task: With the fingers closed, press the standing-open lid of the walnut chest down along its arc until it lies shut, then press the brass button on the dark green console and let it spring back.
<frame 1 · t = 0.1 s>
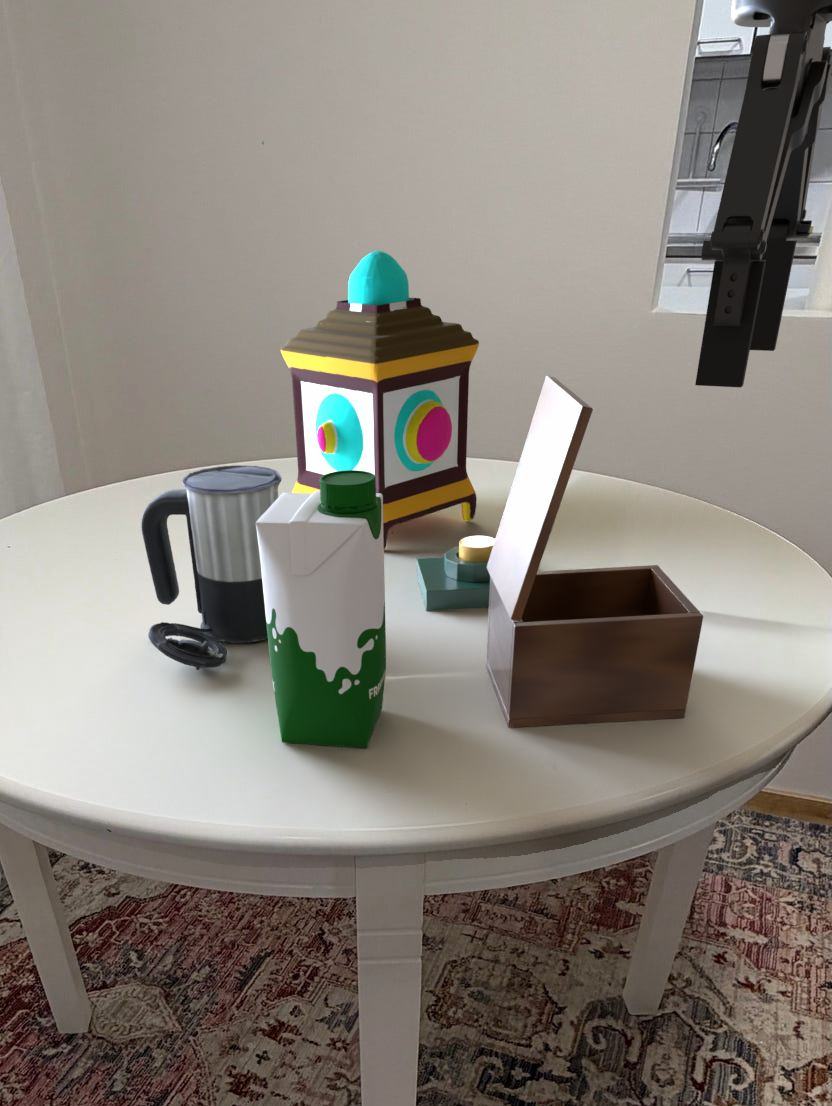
hand: (737, 366, 63), 26 cm above the table, tool pointing down, fingers open, 13 cm apart
decorative lantern: (382, 524, 124), on the table
milk carton: (332, 727, 80), on the table
chest: (579, 691, 83), on the table
chest lid: (533, 498, 73), point 17 cm above the table, hinge at 75.0°
console: (476, 591, 103), on the table
button: (478, 549, 100), point 4 cm above the table, slide at 0.1 cm
milk frother: (225, 644, 95), on the table
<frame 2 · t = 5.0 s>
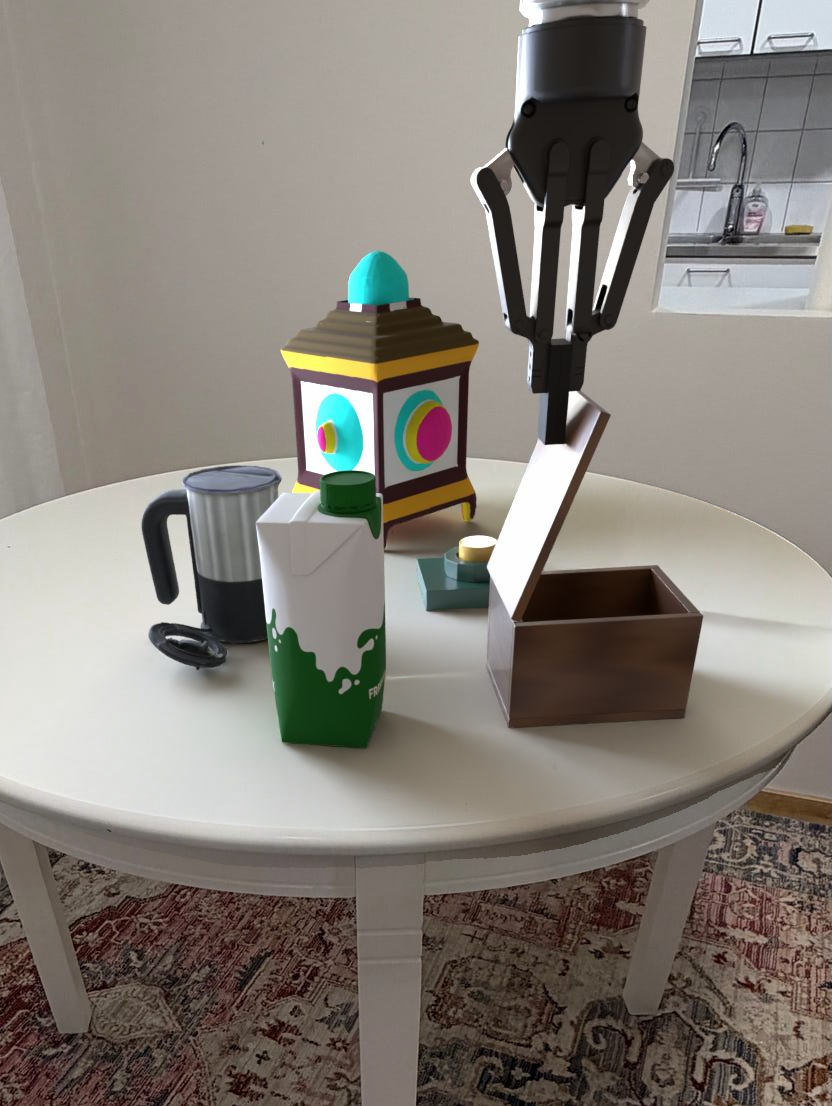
hand: (550, 439, 71), 21 cm above the table, tool pointing down, fingers closed
chest lid: (541, 500, 73), point 16 cm above the table, hinge at 70.0°, touching gripper
everything else where it was.
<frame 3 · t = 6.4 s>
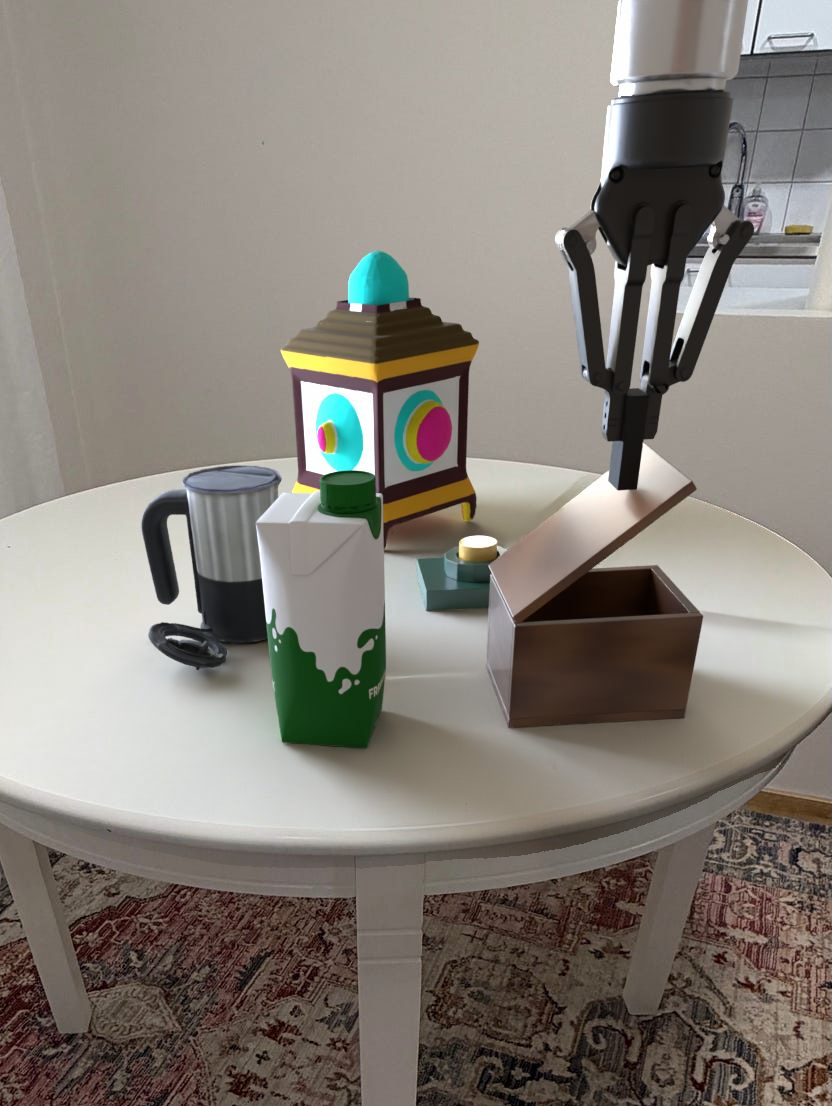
hand: (622, 484, 73), 17 cm above the table, tool pointing down, fingers closed
chest lid: (582, 531, 75), point 14 cm above the table, hinge at 37.6°, touching gripper
everything else where it was.
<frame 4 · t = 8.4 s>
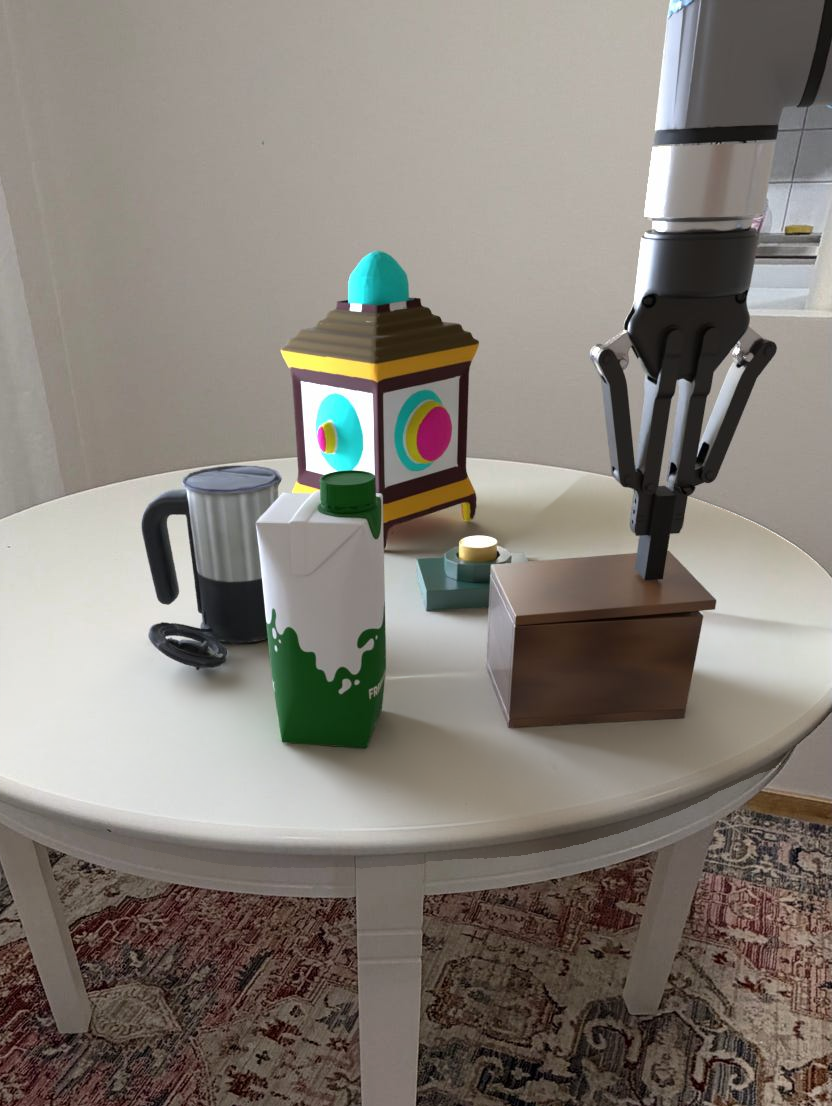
hand: (648, 573, 77), 10 cm above the table, tool pointing down, fingers closed
chest lid: (596, 585, 77), point 9 cm above the table, hinge at 1.4°, touching gripper
everything else where it was.
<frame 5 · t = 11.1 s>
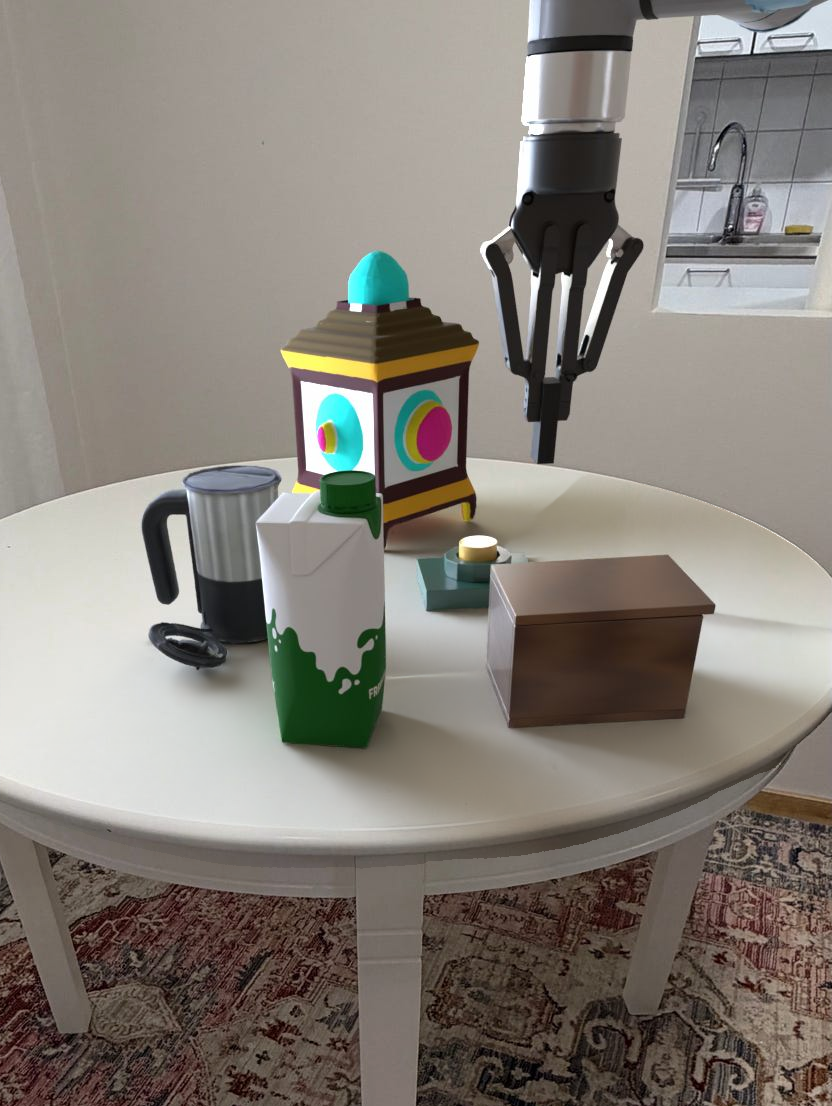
hand: (542, 459, 85), 16 cm above the table, tool pointing down, fingers closed
chest lid: (596, 587, 77), point 9 cm above the table, hinge at 0.1°
everything else where it was.
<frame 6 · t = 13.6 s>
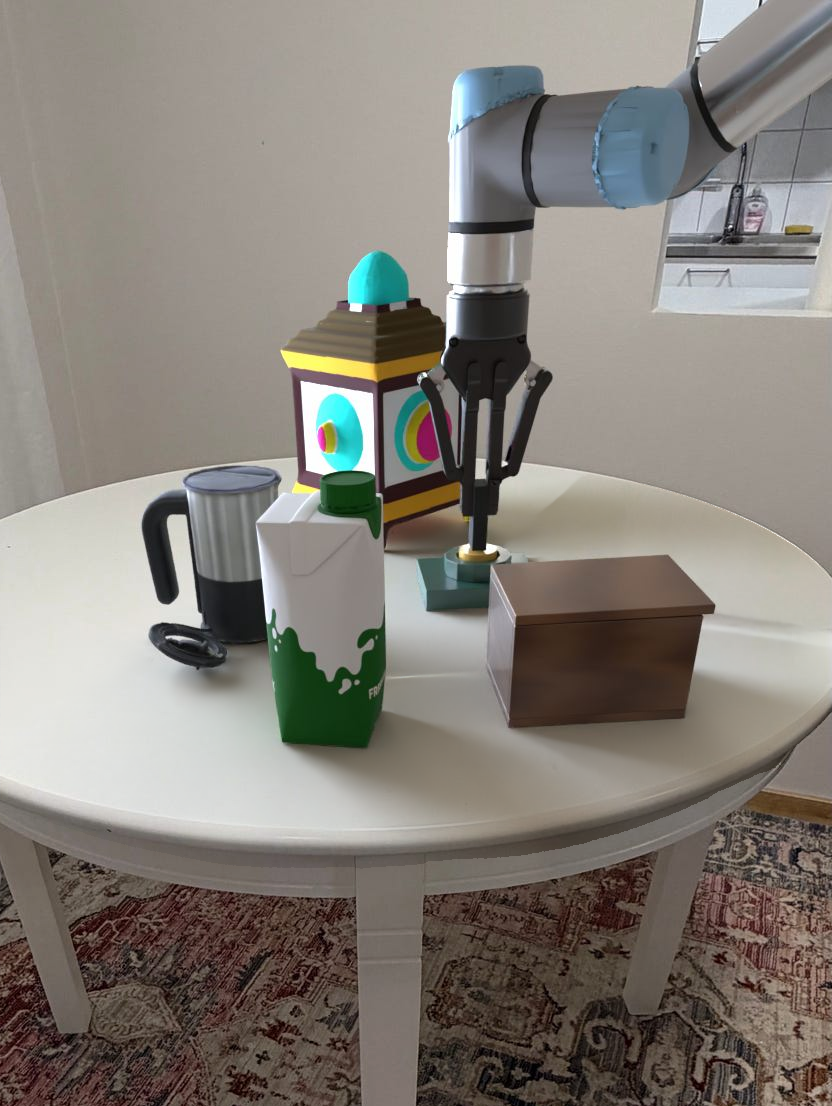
hand: (477, 546, 100), 5 cm above the table, tool pointing down, fingers closed
button: (477, 557, 101), point 4 cm above the table, slide at -0.7 cm, touching gripper
everything else where it was.
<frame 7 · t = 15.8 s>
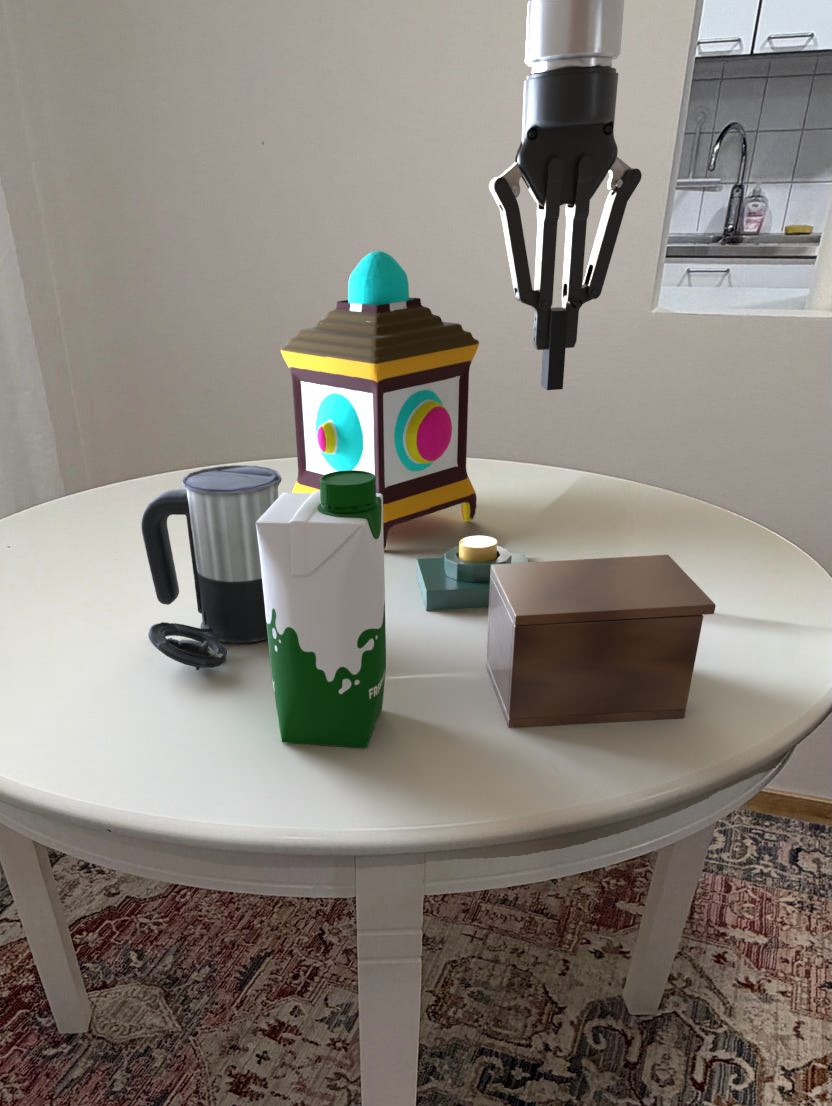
hand: (551, 387, 91), 20 cm above the table, tool pointing down, fingers closed
button: (478, 549, 100), point 4 cm above the table, slide at 0.1 cm
everything else where it was.
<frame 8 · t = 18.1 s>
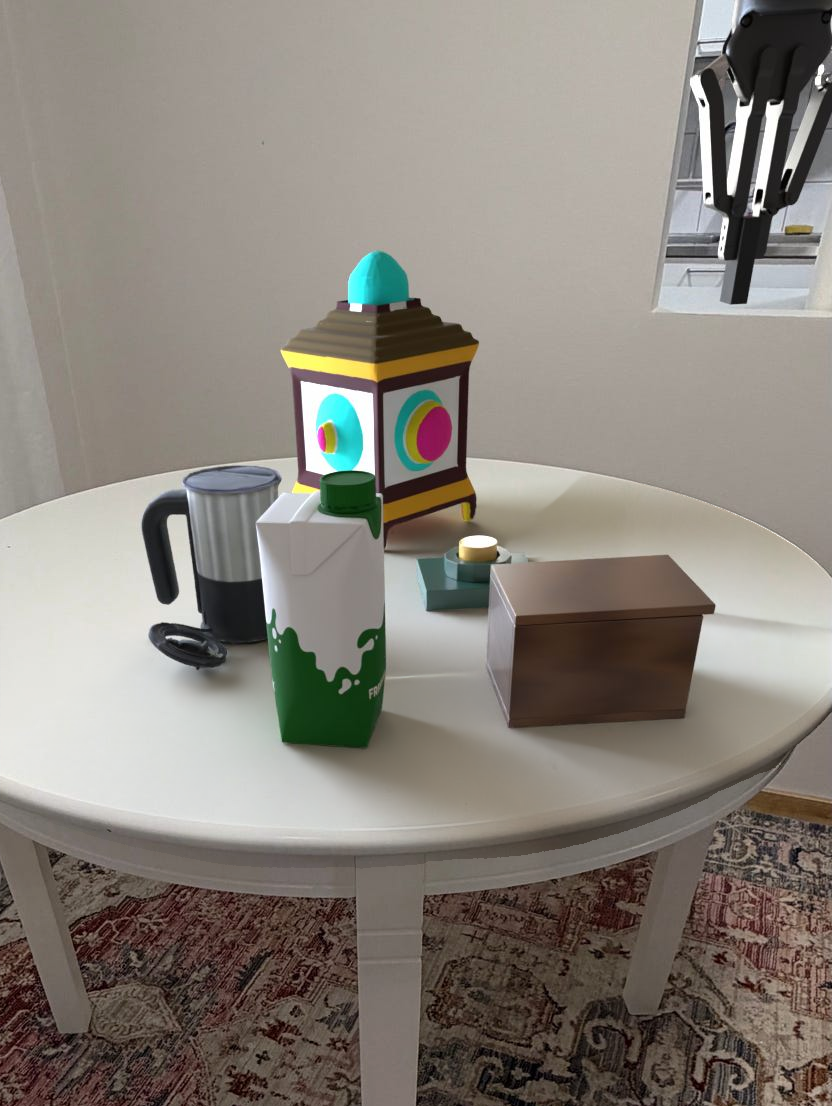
hand: (733, 302, 87), 26 cm above the table, tool pointing down, fingers closed
nothing on the table moved.
at the end: chest lid at +0° (first picture: +75°); button pushed in 1.0 cm at the most during the clip, back to where it started at the end; button slide at 0.1 cm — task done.
